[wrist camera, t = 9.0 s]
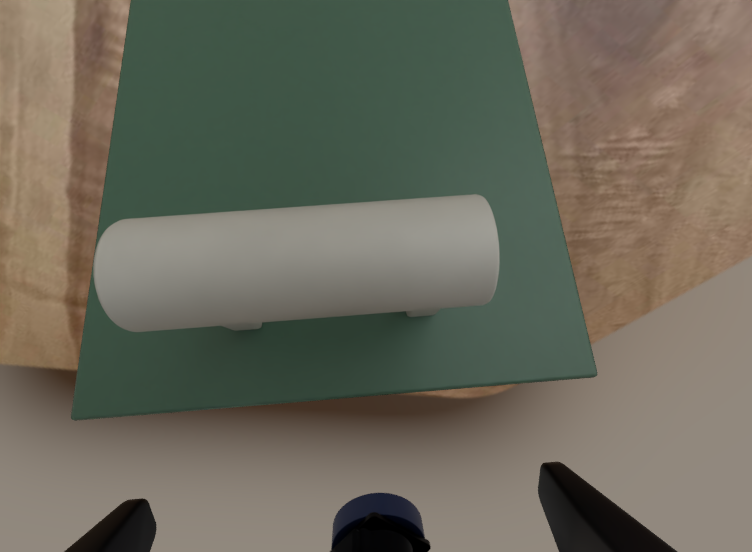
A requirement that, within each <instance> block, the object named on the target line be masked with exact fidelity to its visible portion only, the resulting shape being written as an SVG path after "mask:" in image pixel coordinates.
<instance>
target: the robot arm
mask: <svg viewBox="0 0 752 552" xmlns="http://www.w3.org/2000/svg"><path fill="white" fill-rule="evenodd" d="M538 494H539V498H540V501H541V504H542V507H543V510H544V512H545V515H546V518H547V520H548V523H549V526H550V528H551V531H552V534H553V536H554V539H555V542H556V544H557V547H558V550H559V552H677V551H676V550H675V549H673V548H672V547H671V546H669V545H668V544H667V543H665V542H664V541H663V540H661V539H660V538H659V537H657V536H656V535H655V534H654V533H652V532H651V531H650V530H648V529H647V528H646V527H645V526H643V525H642V524H641V523H639V522H638V521H637V520H635V519H634V518H633V517H631V516H630V515H629V514H628V513H626V512H625V511H624V510H622V509H621V508H620V507H619V506H617V505H616V504H615V503H613V502H612V501H611V500H609V499H608V498H607V497H606V496H604V495H603V494H602V493H600V492H599V491H598V490H596V489H595V488H594V487H593V486H591V485H590V484H589V483H587V482H586V481H585V480H583V479H582V478H581V477H580V476H578V475H577V474H576V473H574V472H573V471H572V470H570V469H569V468H568V467H566V466H565V465H564V464H562V463H560V462H549V463H543V464H542V465H541V468H540V476H539V485H538ZM155 534H156V522H155V519H154V516H153V514H152V511H151V508H150V505H149V503H148V501H147V500H146V499H132V500H127V501H125V502H123V503H122V504H120V505H119V506H118V507H117V508H116V509H115V510H113V511H112V512H111V513H110V514H109V515H107V516H106V517H105V518H104V519H103V520H102V521H100V522H99V523H98V524H97V525H95V526H94V527H93V528H92V529H91V530H90V531H89V532H87V533H86V534H85V535H84V536H82V537H81V538H80V539H79V540H78V541H76V542H75V543H74V544H73V545H72V546H70V547H69V548H68V549H67V550H66V551H65V552H150V550H151V547H152V544H153V541H154V538H155ZM430 549H431V546H430V542H429V541H428V540H427V539H425V538H423V537H421V536H420V535H418V534H416V533H414V532H412V531H410V530H408V529H407V528H405V527H403V526H401V525H399V524H397V523H395V522H394V521H392V520H390V519H388V518H386V517H384V516H383V515H381V514H379V513H377V512H371V513H370V514H368V515H367V516H366V517H365V518H364V519H363V520H362V521H361V522H360V523H359V524H358V525H357V526H356V527H355V528H354V529H353V530H352V531H351V532H350V533H349V534H348V535H347V536H345V537H344V538H343V539H342V540H341V541H340V542H339V543H338V544H337V545H336V546H335V547H334V548H333V549H332V550H331V551H330V552H428V551H429V550H430Z"/></svg>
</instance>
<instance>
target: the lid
mask: <svg viewBox="0 0 752 552" xmlns="http://www.w3.org/2000/svg"><path fill="white" fill-rule="evenodd" d="M595 376H597V370H596V365H595V361H594V357H593V353H592V349H591V345H590V340H589V336H588V332H587V328H586V324H585V320H584V315H583V311H582V307H581V303H580V299H579V295H578V290H577V286H576V282H575V278H574V274H573V270H572V265H571V261H570V257H569V253H568V249H567V245H566V240H565V236H564V232H563V228H562V224H561V220H560V215H559V211H558V207H557V203H556V199H555V195H554V190H553V186H552V182H551V178H550V174H549V170H548V165H547V161H546V157H545V153H544V149H543V145H542V140H541V136H540V132H539V128H538V124H537V120H536V116H535V111H534V107H533V103H532V99H531V95H530V91H529V86H528V82H527V78H526V74H525V70H524V66H523V61H522V57H521V53H520V49H519V45H518V41H517V36H516V32H515V28H514V24H513V20H512V16H511V11H510V7H509V3H508V0H131V3H130V10H129V17H128V24H127V31H126V38H125V45H124V52H123V59H122V66H121V73H120V80H119V87H118V94H117V100H116V107H115V114H114V121H113V128H112V135H111V142H110V149H109V156H108V163H107V170H106V177H105V184H104V191H103V198H102V205H101V211H100V218H99V225H98V232H97V239H96V246H95V253H94V260H93V267H92V274H91V281H90V288H89V295H88V302H87V309H86V315H85V322H84V329H83V336H82V343H81V350H80V357H79V364H78V371H77V378H76V386H75V392H74V399H73V407H72V413H71V419H72V420H87V419H100V418H112V417H123V416H136V415H148V414H160V413H172V412H184V411H196V410H208V409H220V408H231V407H243V406H256V405H268V404H280V403H292V402H304V401H316V400H328V399H339V398H352V397H364V396H376V395H388V394H400V393H412V392H424V391H436V390H448V389H460V388H472V387H484V386H496V385H508V384H520V383H532V382H544V381H556V380H567V379H580V378H591V377H595Z"/></svg>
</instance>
